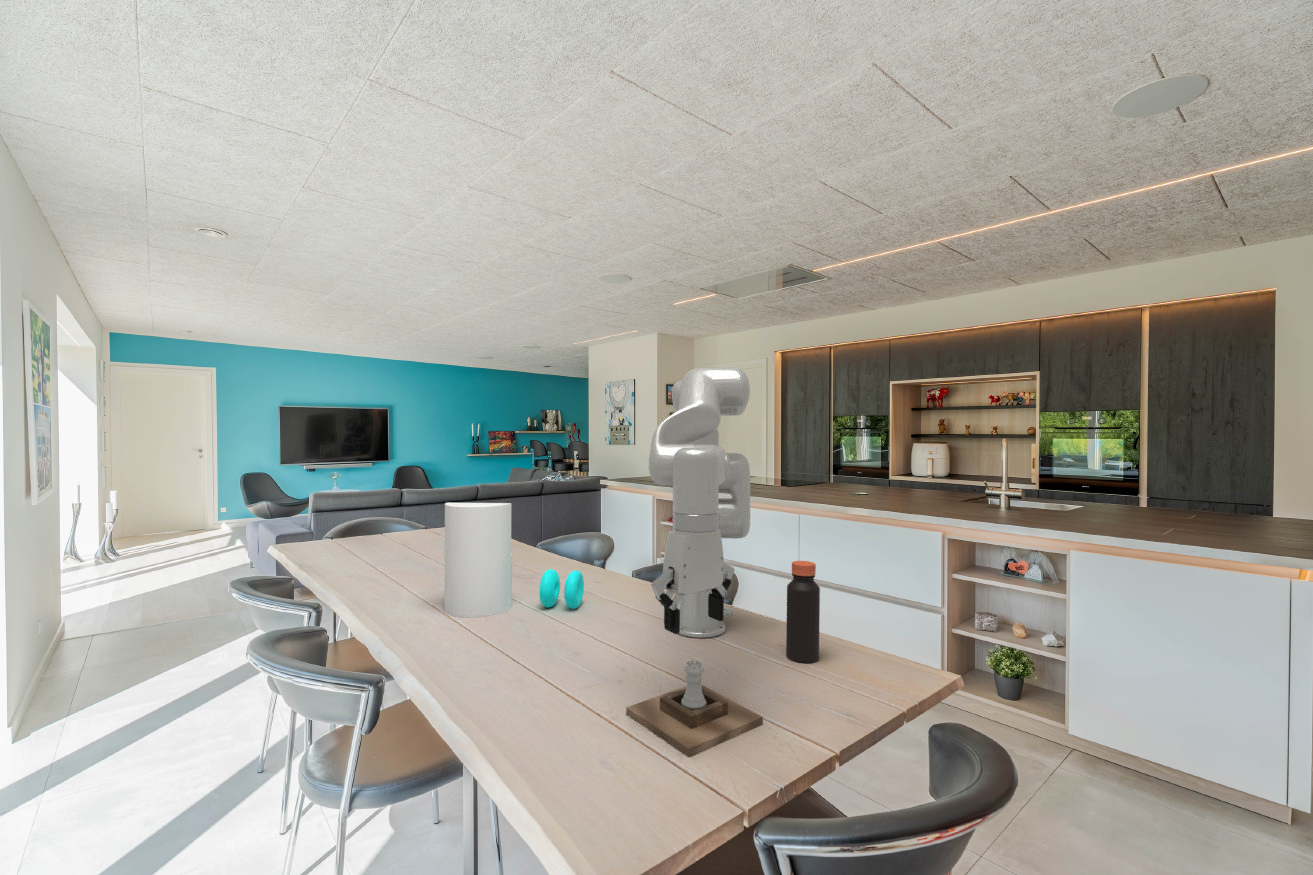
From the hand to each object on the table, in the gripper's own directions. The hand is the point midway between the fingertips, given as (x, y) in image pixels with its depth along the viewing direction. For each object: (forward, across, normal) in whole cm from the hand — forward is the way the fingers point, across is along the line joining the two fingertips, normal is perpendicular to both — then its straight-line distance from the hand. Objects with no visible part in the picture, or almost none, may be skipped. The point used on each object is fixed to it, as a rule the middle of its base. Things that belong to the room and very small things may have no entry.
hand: (694, 624), depth 97 cm
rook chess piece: (+14, 0, 0) cm, 15 cm away
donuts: (+17, -11, -66) cm, 70 cm away
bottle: (+16, -35, -5) cm, 39 cm away
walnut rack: (+16, +1, +1) cm, 16 cm away
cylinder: (+17, +7, -79) cm, 81 cm away
